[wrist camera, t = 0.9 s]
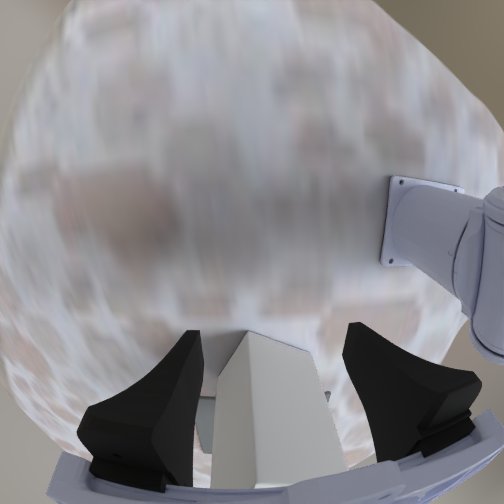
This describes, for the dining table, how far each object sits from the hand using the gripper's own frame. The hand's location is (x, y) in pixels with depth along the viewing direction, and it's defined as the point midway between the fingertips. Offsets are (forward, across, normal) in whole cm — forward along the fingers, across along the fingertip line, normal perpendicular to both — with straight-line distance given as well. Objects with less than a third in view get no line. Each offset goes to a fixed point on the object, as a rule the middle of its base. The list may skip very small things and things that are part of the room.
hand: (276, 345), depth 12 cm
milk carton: (+11, 0, +11) cm, 15 cm away
